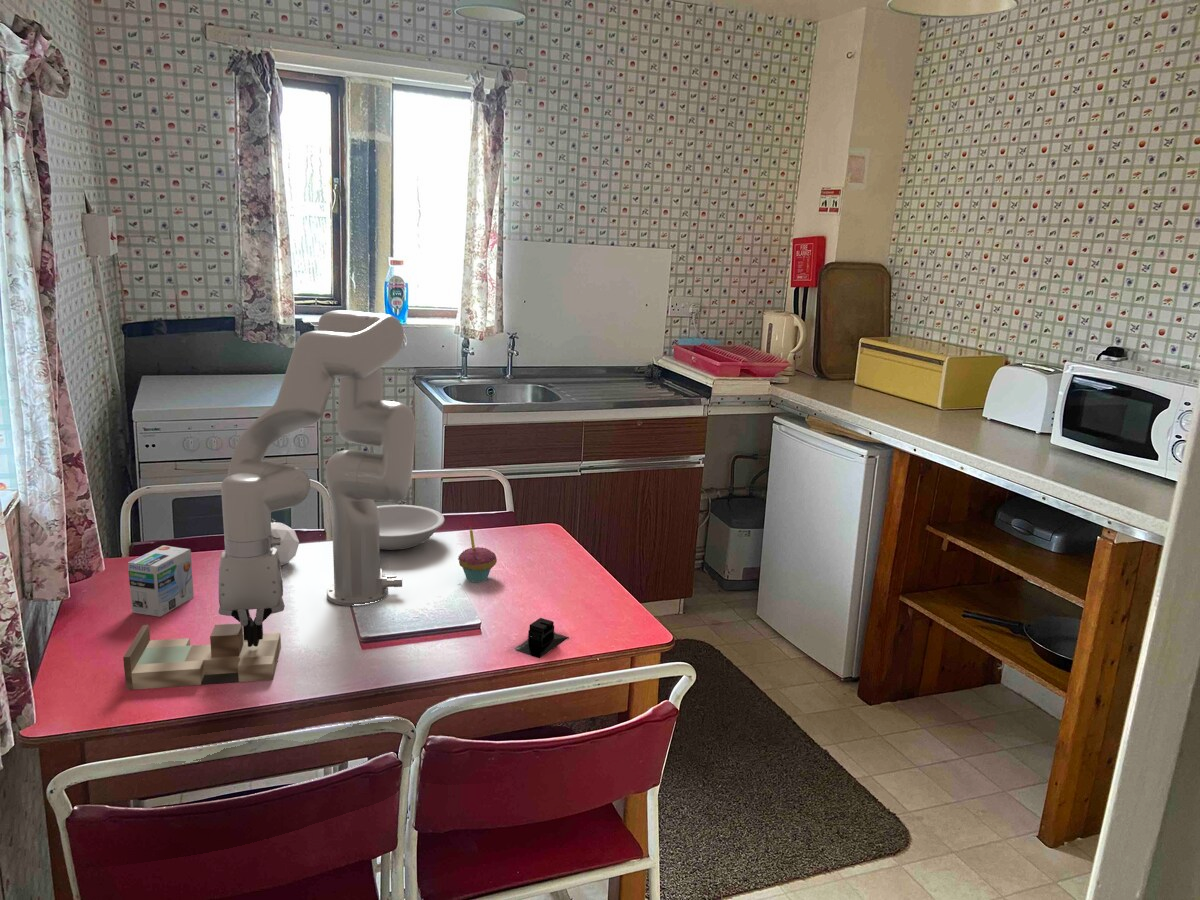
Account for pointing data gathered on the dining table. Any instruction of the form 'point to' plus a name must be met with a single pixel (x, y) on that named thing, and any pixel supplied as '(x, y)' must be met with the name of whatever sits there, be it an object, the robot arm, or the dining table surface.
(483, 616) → the dining table surface
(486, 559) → the cupcake
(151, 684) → the track
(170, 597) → the light bulb box
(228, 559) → the robot arm
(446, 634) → the dining table surface
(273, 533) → the ornament
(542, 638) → the build plate
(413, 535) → the soup bowl
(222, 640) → the walnut block
